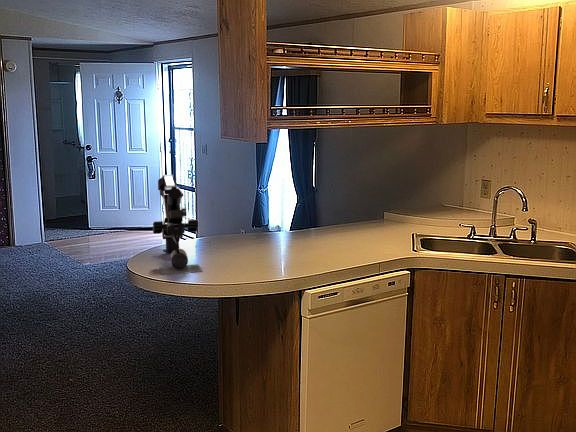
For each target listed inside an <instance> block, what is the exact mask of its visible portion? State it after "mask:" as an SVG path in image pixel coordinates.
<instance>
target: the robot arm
mask: <svg viewBox="0 0 576 432" xmlns="http://www.w3.org/2000/svg"><path fill="white" fill-rule="evenodd" d="M157 191H159V195H160V197H162V198H163V201H164V210H165V211H164V212H165V218H164V220H159V221H158V220H157V221H153V223H152V234H155V235H156V234H157V235H159V234H160V235H162V240H165V249H162V251H163V252H165V253H168V254H171V253H172V252H173V251H174V250H175V249H180V240H181V239H183V237H184V236H183V235H184V234H185V230H186V229H187V231H188V232H189V233H192V232H194V233H196V232H198V230H199V221H198V220H197V219H188V220H187V221H188V222H183V218H185V217H187V208H185V207H184V208H181V203H182V198H183V197H184V193H183V192H182V190H181V189H180V187H179V186H178V185H177V178H175V177H174V174H164V175H162V177H161V178H159V179H158V180H157Z"/></svg>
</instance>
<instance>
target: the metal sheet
mask: <svg viewBox="0 0 576 432" xmlns="http://www.w3.org/2000/svg"><path fill="white" fill-rule="evenodd" d="M159 271H160V274H161V275H172V274H173V275H174V274H175V273H176V274H185V272H190V273H202V272H203V269H202V268H201V266H200V265H199V264H197V263H196V264H187V265H186V267H184V268H183V269H176V268H174V267H173V266H172V265H170V266H169V265H168V266H167V265H166V266H159Z"/></svg>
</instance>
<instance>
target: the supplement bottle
mask: <svg viewBox="0 0 576 432" xmlns="http://www.w3.org/2000/svg"><path fill="white" fill-rule="evenodd" d="M170 262H171V263H170V264H171V266H173V267H174V268H176V269H183V268H184V267H186V265H189V264H188V263H189V258H188V253H187V252H186V250H184V249H182V248H179V249H175V250H174V251H173V252H172V253H170Z"/></svg>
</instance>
